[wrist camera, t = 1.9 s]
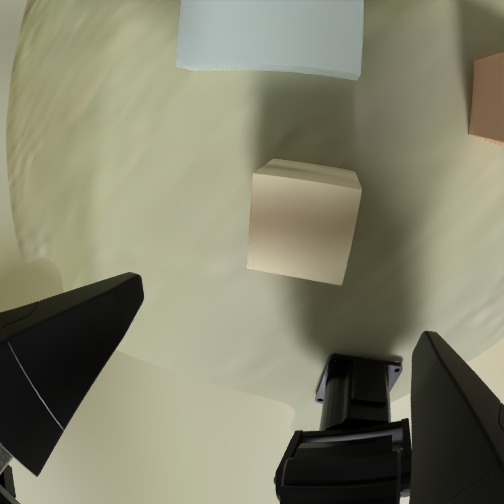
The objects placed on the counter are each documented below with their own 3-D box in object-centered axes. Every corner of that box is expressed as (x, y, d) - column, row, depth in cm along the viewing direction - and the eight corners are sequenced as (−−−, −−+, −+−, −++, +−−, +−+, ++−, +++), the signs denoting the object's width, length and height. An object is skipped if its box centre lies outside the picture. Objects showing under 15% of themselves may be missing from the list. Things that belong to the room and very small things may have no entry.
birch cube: (341, 245, 19) (341, 285, 15) (267, 232, 20) (246, 268, 16) (354, 170, 17) (362, 189, 13) (273, 158, 18) (253, 173, 14)
